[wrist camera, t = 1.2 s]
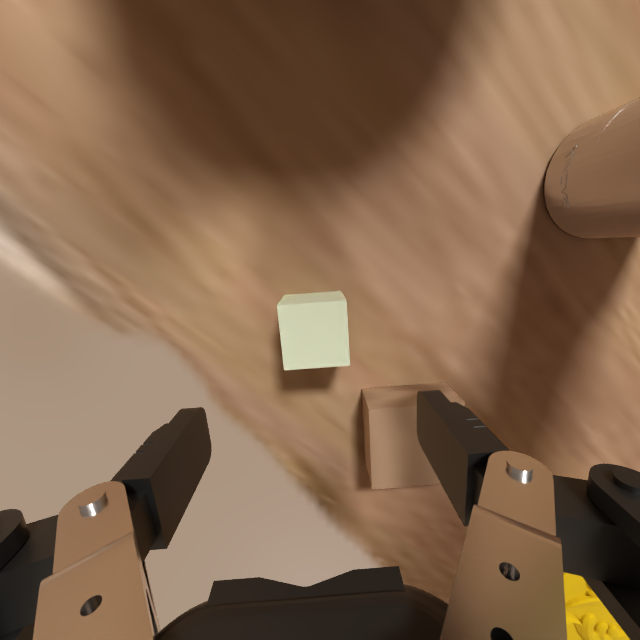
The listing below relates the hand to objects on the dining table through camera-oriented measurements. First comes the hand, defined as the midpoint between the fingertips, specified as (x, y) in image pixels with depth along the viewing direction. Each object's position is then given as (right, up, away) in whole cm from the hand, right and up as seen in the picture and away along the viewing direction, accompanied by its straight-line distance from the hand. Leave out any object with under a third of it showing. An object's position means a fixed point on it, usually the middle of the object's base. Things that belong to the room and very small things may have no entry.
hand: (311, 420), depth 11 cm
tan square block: (+9, -6, +18) cm, 21 cm away
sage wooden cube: (0, +4, +16) cm, 16 cm away
